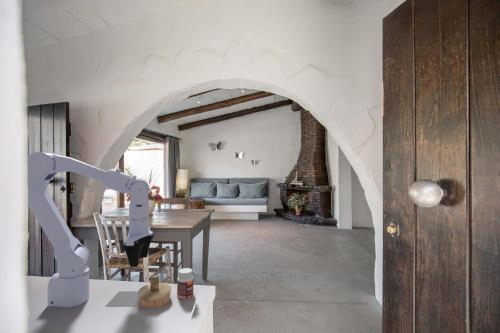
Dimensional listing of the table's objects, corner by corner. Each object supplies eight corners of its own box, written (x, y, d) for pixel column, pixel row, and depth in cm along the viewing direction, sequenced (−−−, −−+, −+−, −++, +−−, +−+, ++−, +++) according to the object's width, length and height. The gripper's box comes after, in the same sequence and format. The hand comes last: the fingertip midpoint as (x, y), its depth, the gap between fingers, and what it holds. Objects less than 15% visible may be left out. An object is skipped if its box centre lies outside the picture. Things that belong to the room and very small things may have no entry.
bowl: (135, 311, 73) (135, 299, 73) (146, 296, 81) (146, 285, 81) (165, 311, 73) (165, 299, 73) (173, 296, 81) (173, 285, 81)
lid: (132, 300, 73) (132, 283, 73) (144, 285, 82) (144, 270, 82) (165, 300, 73) (165, 283, 73) (174, 285, 82) (174, 270, 82)
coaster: (105, 309, 74) (105, 306, 74) (119, 294, 82) (119, 291, 82) (135, 309, 74) (135, 306, 74) (146, 294, 82) (146, 291, 82)
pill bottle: (189, 303, 78) (189, 274, 78) (174, 301, 79) (174, 273, 78) (195, 295, 82) (196, 268, 82) (181, 293, 83) (181, 266, 83)
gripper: (143, 223, 75) (143, 271, 76) (159, 213, 90) (159, 253, 90) (118, 223, 75) (118, 271, 76) (138, 213, 90) (138, 253, 90)
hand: (139, 261), depth 83 cm, fingers open, 7 cm apart
